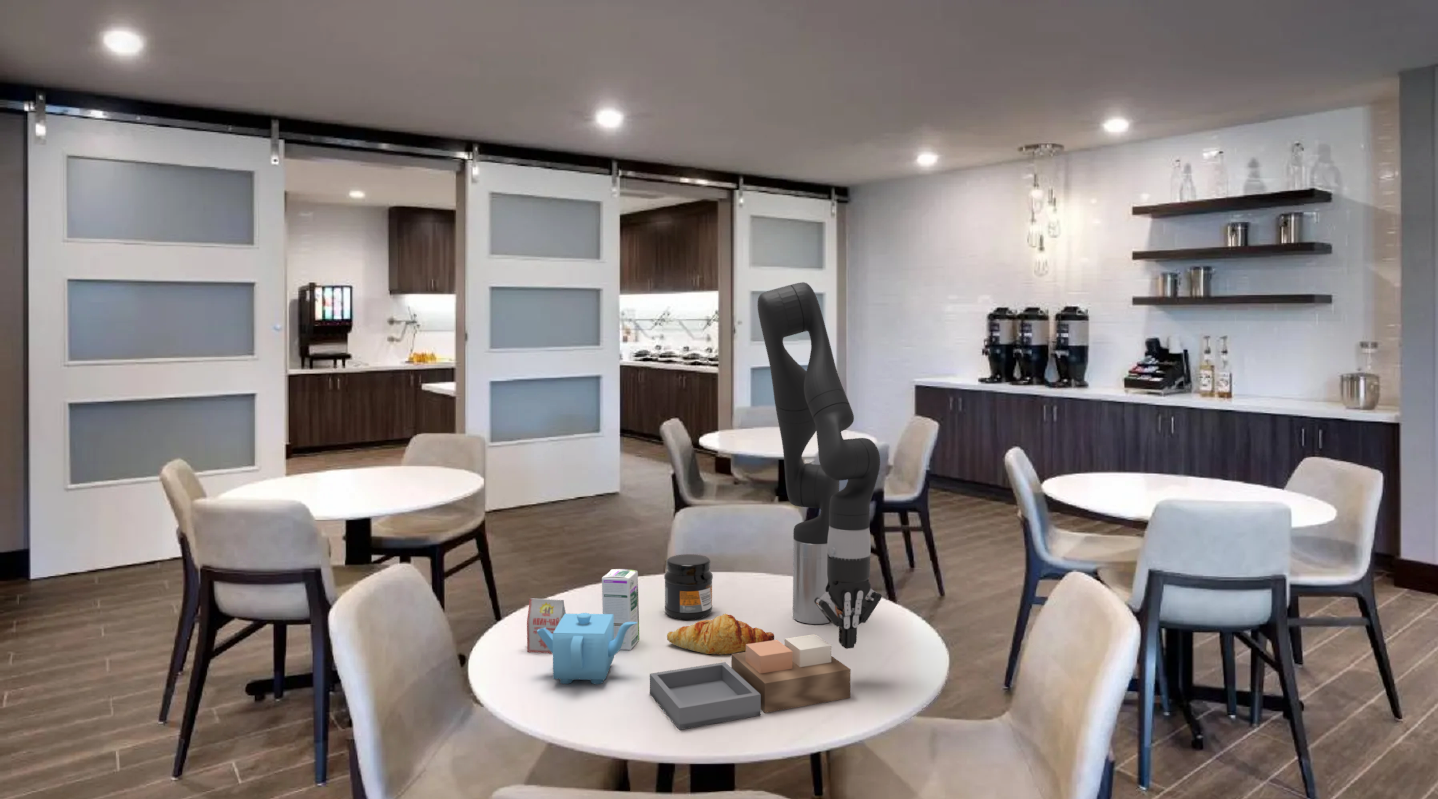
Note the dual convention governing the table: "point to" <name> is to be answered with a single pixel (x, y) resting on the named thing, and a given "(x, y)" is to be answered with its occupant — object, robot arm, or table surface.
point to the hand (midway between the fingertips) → (847, 646)
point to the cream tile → (809, 650)
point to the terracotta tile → (769, 656)
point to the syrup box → (622, 602)
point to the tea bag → (542, 621)
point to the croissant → (718, 636)
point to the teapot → (584, 646)
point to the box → (704, 695)
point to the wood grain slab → (796, 683)
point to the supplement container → (688, 587)
